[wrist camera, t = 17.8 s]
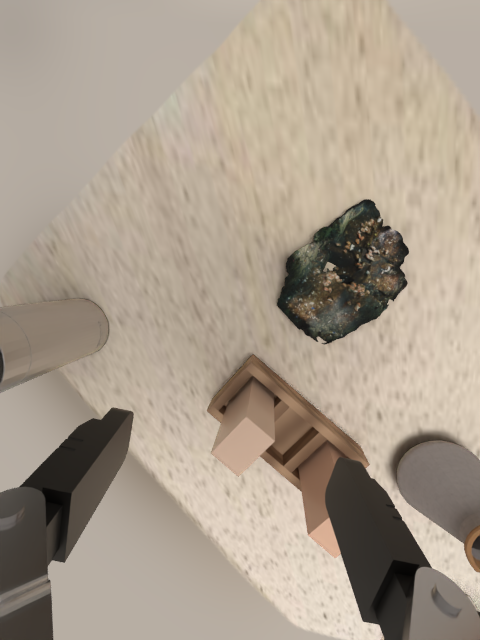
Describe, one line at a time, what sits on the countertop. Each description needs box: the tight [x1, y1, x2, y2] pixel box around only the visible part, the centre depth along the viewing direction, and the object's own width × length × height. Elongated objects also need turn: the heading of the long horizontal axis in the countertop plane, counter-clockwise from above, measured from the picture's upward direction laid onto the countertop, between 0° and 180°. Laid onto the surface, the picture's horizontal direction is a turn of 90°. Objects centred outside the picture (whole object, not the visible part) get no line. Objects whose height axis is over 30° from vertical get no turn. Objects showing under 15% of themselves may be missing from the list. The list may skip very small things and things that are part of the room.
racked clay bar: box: [211, 376, 275, 477], centre depth 35 cm, size 4×6×12 cm, turn 140°
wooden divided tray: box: [207, 355, 370, 492], centre depth 40 cm, size 22×10×4 cm, turn 50°
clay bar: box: [298, 439, 346, 558], centre depth 35 cm, size 4×6×12 cm, turn 140°
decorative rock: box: [277, 200, 409, 344], centre depth 36 cm, size 19×6×15 cm
